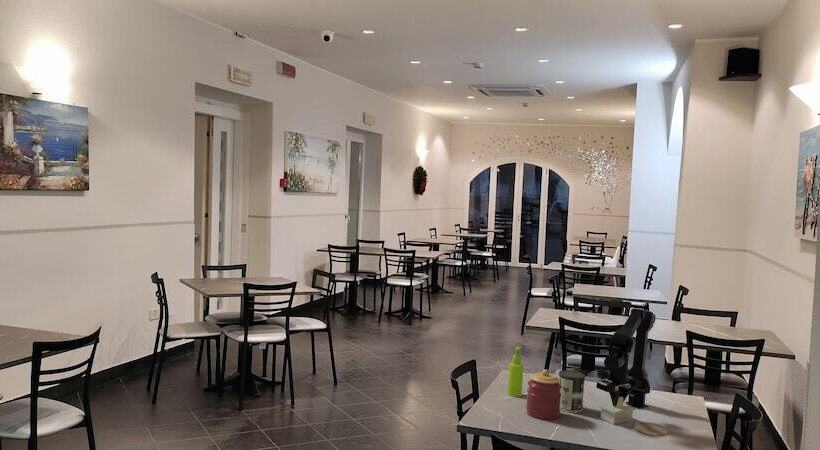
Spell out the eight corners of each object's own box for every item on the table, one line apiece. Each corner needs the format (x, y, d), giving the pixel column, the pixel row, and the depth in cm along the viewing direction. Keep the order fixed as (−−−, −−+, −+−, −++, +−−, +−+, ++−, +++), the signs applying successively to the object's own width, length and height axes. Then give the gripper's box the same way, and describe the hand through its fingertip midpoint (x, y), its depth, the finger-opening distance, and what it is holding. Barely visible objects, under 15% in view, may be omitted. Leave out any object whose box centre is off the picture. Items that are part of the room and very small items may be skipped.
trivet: (648, 421, 246) (648, 420, 246) (675, 432, 236) (675, 431, 236) (626, 425, 240) (626, 424, 240) (653, 437, 230) (653, 436, 230)
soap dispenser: (522, 392, 273) (526, 346, 271) (520, 397, 266) (523, 350, 265) (509, 390, 274) (512, 345, 273) (506, 395, 268) (509, 348, 267)
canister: (562, 412, 251) (566, 368, 250) (555, 422, 239) (559, 376, 238) (530, 406, 256) (533, 362, 255) (521, 415, 245) (524, 370, 244)
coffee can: (581, 405, 260) (584, 371, 259) (583, 414, 250) (585, 379, 249) (555, 402, 262) (558, 368, 261) (556, 411, 252) (558, 376, 251)
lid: (619, 405, 251) (620, 391, 251) (634, 412, 245) (635, 397, 245) (599, 409, 246) (600, 395, 246) (614, 415, 239) (615, 401, 239)
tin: (618, 415, 251) (619, 404, 251) (631, 421, 245) (632, 409, 245) (600, 418, 246) (601, 407, 246) (613, 424, 240) (614, 413, 240)
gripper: (620, 358, 256) (617, 396, 257) (587, 362, 247) (584, 402, 248) (643, 365, 246) (640, 405, 247) (609, 370, 237) (606, 411, 238)
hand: (617, 405), depth 245 cm, fingers closed on lid, 3 cm apart
